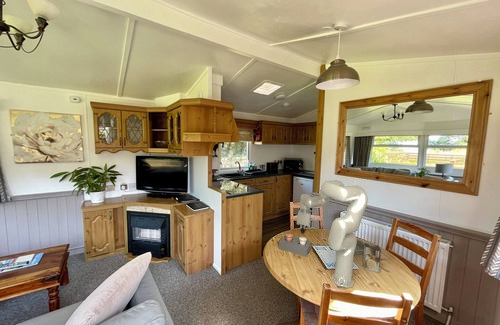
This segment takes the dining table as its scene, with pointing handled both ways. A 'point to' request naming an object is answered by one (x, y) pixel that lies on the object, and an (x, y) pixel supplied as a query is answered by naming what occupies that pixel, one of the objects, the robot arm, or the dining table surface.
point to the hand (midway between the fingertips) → (302, 232)
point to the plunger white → (302, 240)
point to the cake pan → (359, 248)
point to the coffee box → (371, 257)
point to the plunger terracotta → (289, 237)
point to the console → (295, 246)
